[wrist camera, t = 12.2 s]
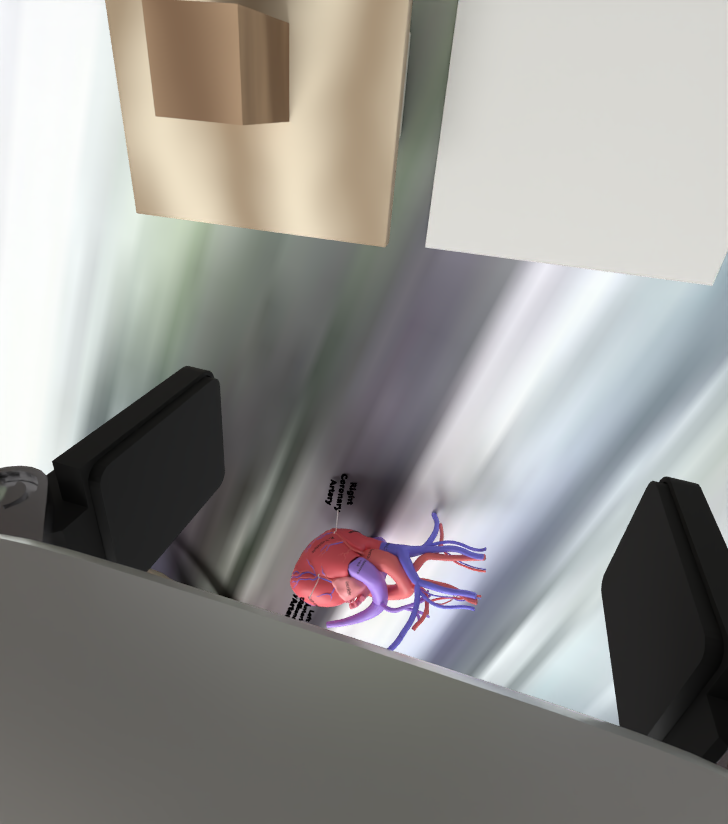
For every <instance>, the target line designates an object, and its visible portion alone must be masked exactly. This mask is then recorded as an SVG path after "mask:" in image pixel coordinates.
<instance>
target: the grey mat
mask: <svg viewBox="0 0 728 824" xmlns="http://www.w3.org/2000/svg"><path fill="white" fill-rule="evenodd" d="M425 247H427V248H435V249H442V250H450V251H457V252H465V253H472V254H480V255H487V256H494V257H502V258H509V259H517V260H524V261H532V262H539V263H547V264H554V265H562V266H569V267H577V268H584V269H591V270H599V271H606V272H614V273H621V274H629V275H636V276H644V277H651V278H659V279H666V280H674V281H681V282H688V283H696V284H703V285H711V286H712V285H713V283H714V281H715V278H716V276H717V274H718V272H719V269H720V267H721V265H722V263H723V260H724V258H725V256H726V253H727V251H728V0H458V7H457V15H456V22H455V30H454V37H453V44H452V52H451V59H450V67H449V74H448V82H447V89H446V97H445V104H444V112H443V119H442V126H441V134H440V141H439V149H438V156H437V164H436V171H435V179H434V186H433V193H432V201H431V208H430V216H429V223H428V231H427V238H426V246H425Z"/></svg>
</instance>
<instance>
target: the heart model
mask: <svg viewBox="0 0 728 824" xmlns="http://www.w3.org/2000/svg"><path fill="white" fill-rule="evenodd" d="M344 476H346V478H345V479H347V478H348V476H347V475H346V474H343V475H342V476H341V479H342V480H341V481H340V483H341V484H345V480H343V477H344ZM331 481H332V482H331V483H330V485H334V484H336V483H337V482H336V481H334V480H332V479H331ZM342 482H343V483H342ZM350 484H352V485H351V486H350V488H349V489H350V491H347V494H348V495H352V496H348V498H351V499H348V501H350V502H347V504H348V505H349V504H350V505H352V504H353V502H352V500H353V498H355V497H354V496H353V494H354V492H353V491H352V490H356V488H355V487H356V486H357V483H353V482H350ZM354 484H355V485H354ZM330 487H331V488H332V489H330V490H329V493H328V496H330V497H328V498H327V499H330V501H327V500H325V502H326V503H327V504H329V505H331V504H330V503H331V502H332V496H333V493H331V491H332V492H334V491H335V490H334V486H330ZM340 487H342V488H344V487H345V485H340ZM352 487H354V488H352ZM342 488H340V489H339V493H343V492H344V489H342ZM341 490H342V491H341ZM351 492H352V493H351ZM338 495H340V497H339V496H338V498H343V494H338ZM337 503H342V499H337ZM336 505H337V506H339V507H338V508H336V507H334V509H335V510H337V519H338V511H339V512H340V510H338V509H341V504H336ZM432 517H433V519H434V522H435V525H434V530H433V532H432V534H431V535H430V537H429V538H428V540H427V541H426V542H425V543H424V544H423V545H422V546H408V545H400V544H392V543H387V542H386V541H385V540H384V539H383V538H381V537H374V538H371V537H366V536H364V535H362V534H361V533H360V532H358V531H354V530H350V529H339V528H337V521H336V528H332V529H331V530H328V531H325V532H324V533H323V534H321V535H320V536H318V537H317V538H316V539H314V540H313V541H312V542H311V543H310V544H309V545H308V546H307V548H306V549H305V550H304V551H303V553H302V554H301V556H300V558H299V560H298V562H297V563H296V565H295V568H294V571H293V573H292V576H291V577H292V578H291V581H290V585H291V587H292V589H293V591H294V592H295V593H296V594H297V595H295V594H293V596H294V597H295V598H296V599H297V597H299V598H300V601H299V602H298V601H297V600H296V599H294V598H292V599H293V601H292V602H291V604H290V606H292V607H289V608H288V611H287V612H286V614H288V615H285V616H286V617H290V616H289V615H290V614H291V611H292V610H294V604H293V603H297V602H298V604H297V607H296V610H295V613H294V615H293V617H292V618H294V619H295V617H296V616H297V614H296V613H298V610H299V608H300V609H301V608H302V605H301V604H303V603H304V602H305V603H306V605H304V607H303V608H305V609H303V610H304V611H302V613H301V616H300V618H301V619H300V618H299V621H300V620H302V621H303V616H304V613H306V609H307V606H310V607H311V605H313V606H318V607H333V606H337V605H340V604H343V603H344V602H346V603H347V602H348V603H350V604H349V607H350V609H353V608H356V607H358V606H359V605H360V604H361V603H362V601H364V600H365V599H366V597H368V596H370V597H372V598H373V601H372V603H371V605H370V606H369V607H368V608H366V609H365V610H364V611H362V612H360V613H357V614H355V615H353V616H350V617H347V618H344V619H341V620H335V621H329V622H327V623H326V625H327V628H329V627H341V626H347V625H352V624H356V623H360V622H363V621H366V620H369V619H371V618H373V617H375V616H377V615H378V614H380V613H381V612H382V611H383V610H386V611H388V612H391V613H397V612H400V611H402V610H407V611H411V612H412V613H411V615H410V618H409V620H408V621H407V623H406V625H405V626H404V628H403V629H402V631H401V632H400V634H399V635H398V637H397V638H396V640H395V641H394V642H393V643H392V644H391V645H390V646H389V647H388V648H387V649H389V650H392V651H393V650H394V649H395V648H396V647H397V646H398V645H399V644H400V642H401V641H402V640H403V638H404V636H405V635H406V633H407V631H408V630H409V629H410V627H411V625H412V624H413V622H414V620H415V617H416V616H417V619H418V621H417V622H416V623H415V625H414V626H413V627H412V629H413V630H414V631H415V630H416V628H417V627H418V626H419V625H420V624H421V623H422V622H423V621H424V619H425V618H426V617H427V618H429V617H430V616H429V615H427V614H429V603H430V604H431V605H433V606H436V607H438V608H442V609H470V610H473V611H475V608H474V607H471V606H465V605H455V606H444V605H443V604H446V603H448V602H450V601H452V600H453V599H455V600H457V601H468V602H470V603H472V604H475V605H477V602H478V600H477V599H481V598H476V597H481V595H477V594H476V593H474V592H471V591H467V590H460V589H458V588H456V587H454V586H452V585H449V584H446V583H442V582H438V581H434V580H430V579H425V578H419V576H418V574H417V571H418V570H419V569H420V568H421V566H422V565H423V563H424V562H426V561H427V560H443V561H453V562H455V563H457V564H458V565H461V566H463V567H466V568H468V569H471V570H474V571H478V572H486V569H483V570H479V569H482V568H477V567H473V566H470V565H467V564H465V563H463V562H461V561H480V560H485V559H486V555H485V554H478V553H474V552H471V551H469V550H466V549H464V548H461V547H458V546H450V545H447V546H443V544H448V543H450V544H457V545H460V546H462V547H465V548H467V549H470V550H473V551H478V552H483V551H486V547H485V548H482V549H477V548H473V547H470V546H467V545H465V544H463V543H460V542H456V541H443V538H444V533H443V527H442V524H441V523H440V524H439V519H438V517H437V515H436V513H432ZM439 529H440V541H439V542H434V543H432V542H433V541H434V539H435V538H436V536H437V534H438V531H439ZM436 545H438V546H436ZM439 552H444V553H445V554H446V555H445V554H439ZM448 552H458V553H461V554H462V555H451V554H449V553H448ZM421 554H422V555H421ZM448 554H449V555H448ZM418 555H421V556H419V557H418V558H417V560H416V561H415V562H414V563H412V561H411V559H410V557H415V556H418ZM457 561H459V562H460V563H459V562H457ZM461 563H462V564H461ZM463 564H465V565H467V566H465V565H463ZM468 566H470V567H468ZM471 567H473V568H471ZM474 568H477V569H474ZM387 574H388V575H389V576H391V577H392V578H393V580H394V581H395V582H396V584H394V585H386V582H385V578H386V575H387ZM422 587H424V588H428V589H431V590H434V591H437V592H441V593H445V594H450V595H453V596H454V595H457V596H460V598H458V597H457V596H456V597H448V596H437V595H433V594H430V593H428V592H429V590H427V591H426V590H425V589H424V588H422ZM414 592H415V599H414V603H411V604H408V605H405V606H401V607H399V608H390V607H388V606H386V605H387V603H388V600H400V599H405V598H408V597H410V596H411V595H412V594H413V593H414ZM428 594H429V595H428ZM420 595H421V596H422V597H421V598H420ZM431 595H432V596H436V597H440V598H436V599H432V600H430V599H429V597H431ZM356 597H357V599H356V600H355V598H356ZM301 599H302V600H301ZM441 599H452V600H450V601H448V602H445V603H442V604H438V603H435V602H433V601H436V600H441ZM461 599H464V600H461ZM354 600H355V601H354ZM424 601H425V610H424V612H422V611H419V610H418V609H419V604H420V603H422V602H424ZM351 602H353V603H351ZM307 603H308V604H307ZM410 607H413V608H410ZM290 610H291V611H290ZM303 612H304V613H303ZM310 612H314V611H312V610H310V611H309V614H308V616H309V617H307V618H309V619H306V621H308V622H309V621H310V620H311V613H310ZM419 614H421V615H422V617H421V618H420V616H419Z"/></svg>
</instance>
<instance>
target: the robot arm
mask: <svg viewBox="0 0 728 824" xmlns="http://www.w3.org/2000/svg"><path fill="white" fill-rule="evenodd" d="M52 463H53V467H54V470H53V471H52V472H50V473H49V474H47V475H45V474H44V473H43V472H42V471H41V470H39V469H36V468H33V467H27V466H11V467H4V468H0V824H728V548H727V546H726V544H725V541H724V539H723V537H722V535H721V532H720V530H719V528H718V526H717V523H716V521H715V519H714V516H713V514H712V512H711V510H710V507H709V505H708V503H707V501H706V498H705V496H704V494H703V492H702V489H701V487H700V486H699V484H696V483H692V482H688V481H684V480H679V479H675V478H671V477H663V478H662V479H661V480H660V482H655V481H652V482H650V483H649V485H648V486H647V488H646V490H645V492H644V494H643V496H642V498H641V500H640V502H639V504H638V506H637V508H636V510H635V512H634V515H633V517H632V519H631V521H630V523H629V525H628V527H627V529H626V531H625V533H624V535H623V537H622V539H621V541H620V543H619V545H618V547H617V549H616V551H615V553H614V555H613V557H612V559H611V561H610V563H609V566H608V568H607V570H606V572H605V574H604V576H603V580H602V587H601V592H602V600H603V607H604V615H605V622H606V629H607V636H608V644H609V651H610V658H611V666H612V673H613V680H614V687H615V695H616V702H617V709H618V716H619V724H620V726H617V725H614V724H611V723H609V722H606V721H603V720H600V719H597V718H594V717H591V716H588V715H585V714H582V713H580V712H577V711H574V710H571V709H568V708H565V707H562V706H559V705H556V704H553V703H550V702H548V701H545V700H542V699H539V698H536V697H533V696H530V695H527V694H524V693H520V692H517V691H514V690H511V689H508V688H505V687H502V686H499V685H496V684H493V683H490V682H487V681H484V680H481V679H478V678H475V677H472V676H469V675H465V674H462V673H459V672H456V671H453V670H450V669H447V668H444V667H441V666H438V665H435V664H432V663H429V662H426V661H423V660H420V659H417V658H414V657H410V656H407V655H404V654H401V653H398V652H395V651H392V650H389V649H386V648H383V647H380V646H377V645H373V644H370V643H367V642H364V641H361V640H358V639H355V638H352V637H349V636H345V635H342V634H339V633H336V632H333V631H330V630H327V629H324V628H321V627H318V626H314V625H311V624H308V623H305V622H302V621H299V620H296V619H293V618H289V617H286V616H283V615H280V614H277V613H274V612H271V611H268V610H264V609H261V608H258V607H255V606H252V605H249V604H246V603H243V602H239V601H236V600H233V599H230V598H227V597H223V596H220V595H217V594H214V593H211V592H208V591H204V590H201V589H198V588H195V587H192V586H189V585H185V584H182V583H179V582H176V581H173V580H170V579H166V578H163V577H160V576H157V575H154V574H151V573H147V571H148V570H149V569H150V568H151V567H152V565H153V564H154V563H155V562H156V561H157V560H158V558H159V557H160V556H161V555H162V554H163V553H164V551H165V550H166V549H167V548H168V547H169V545H170V544H171V543H172V542H173V541H174V540H175V538H176V537H177V536H178V535H179V534H180V533H181V531H182V530H183V529H184V528H185V527H186V525H187V524H188V523H189V522H190V521H191V520H192V518H193V517H194V516H195V515H196V514H197V513H198V511H199V510H200V509H201V508H202V507H203V506H204V504H205V503H206V502H207V501H208V500H209V498H210V497H211V496H212V495H213V494H214V493H215V491H216V490H217V489H218V488H219V487H220V485H221V483H222V481H223V478H224V474H225V467H224V449H223V432H222V415H221V397H220V384H219V381H218V380H217V379H215V378H214V376H213V374H212V372H210V371H208V370H203V369H199V368H195V367H190V366H185V367H183V368H182V369H180V370H179V371H177V372H176V373H175V374H173V375H172V376H170V377H169V378H168V379H166V380H165V381H163V382H162V383H161V384H159V385H158V386H156V387H155V388H154V389H152V390H151V391H149V392H148V393H147V394H145V395H144V396H142V397H141V398H140V399H138V400H137V401H135V402H134V403H133V404H131V405H130V406H128V407H127V408H126V409H124V410H123V411H121V412H120V413H119V414H117V415H116V416H114V417H113V418H112V419H110V420H109V421H107V422H106V423H105V424H103V425H102V426H100V427H99V428H98V429H96V430H95V431H93V432H92V433H91V434H89V435H88V436H87V437H85V438H84V439H82V440H81V441H80V442H78V443H77V444H75V445H74V446H73V447H71V448H70V449H68V450H67V451H66V452H64V453H63V454H61V455H60V456H59V457H57V458H56V459H54V460H53V461H52Z"/></svg>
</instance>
